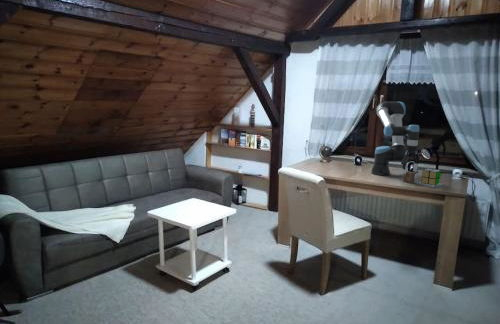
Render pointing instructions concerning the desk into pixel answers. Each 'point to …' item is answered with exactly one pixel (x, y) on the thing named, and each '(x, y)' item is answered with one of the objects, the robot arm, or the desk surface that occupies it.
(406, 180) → the walnut block
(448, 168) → the desk surface
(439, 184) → the build board
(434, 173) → the puzzle cube
